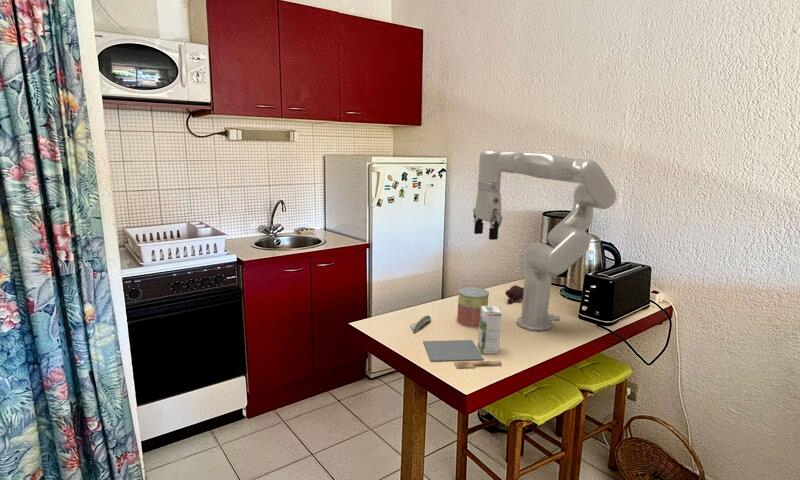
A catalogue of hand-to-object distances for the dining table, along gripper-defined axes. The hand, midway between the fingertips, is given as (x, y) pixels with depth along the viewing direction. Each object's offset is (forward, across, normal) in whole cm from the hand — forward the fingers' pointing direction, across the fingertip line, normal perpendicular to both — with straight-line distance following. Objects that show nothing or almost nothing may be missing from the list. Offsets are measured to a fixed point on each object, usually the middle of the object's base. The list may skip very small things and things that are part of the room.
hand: (485, 236), depth 159 cm
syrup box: (+35, -15, +6) cm, 39 cm away
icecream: (+35, +23, -32) cm, 53 cm away
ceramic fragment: (+36, +9, +19) cm, 41 cm away
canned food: (+35, +8, -1) cm, 36 cm away
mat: (+35, -12, +17) cm, 41 cm away
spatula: (+35, -24, +14) cm, 45 cm away
